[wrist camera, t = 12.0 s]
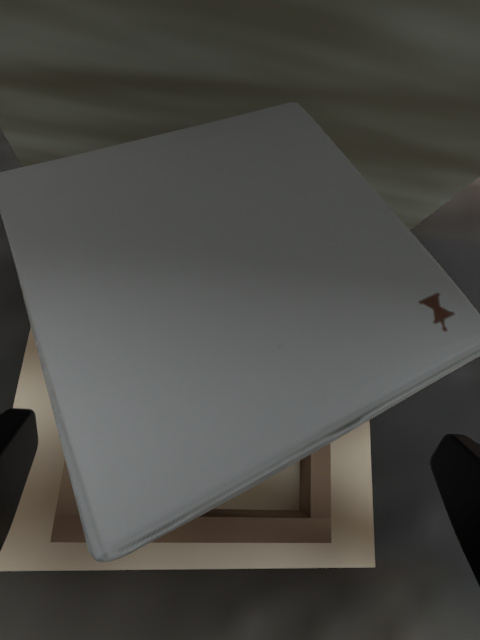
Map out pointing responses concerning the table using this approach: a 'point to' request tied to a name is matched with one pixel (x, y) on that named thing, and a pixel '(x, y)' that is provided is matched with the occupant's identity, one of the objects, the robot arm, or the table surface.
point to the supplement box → (218, 313)
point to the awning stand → (216, 104)
